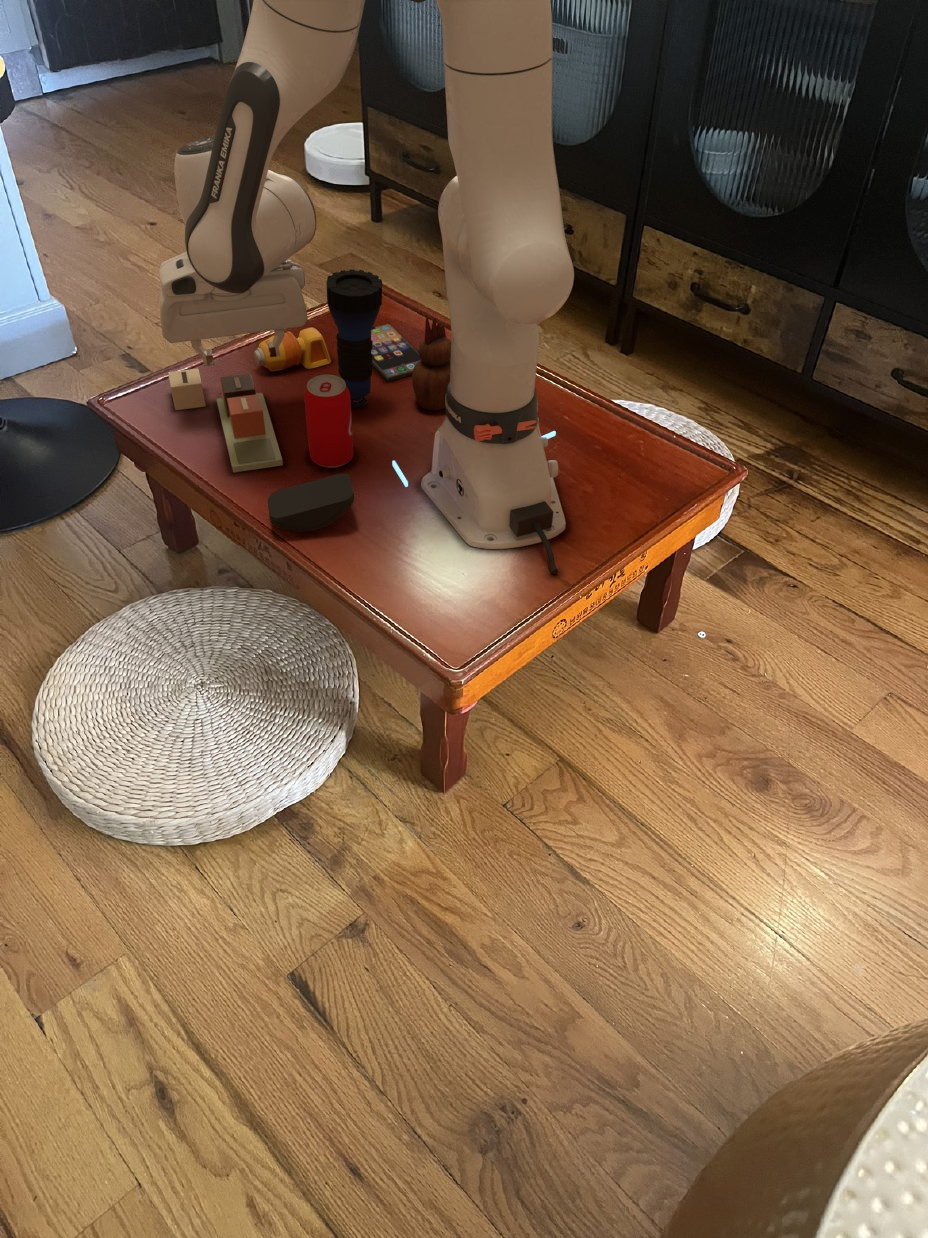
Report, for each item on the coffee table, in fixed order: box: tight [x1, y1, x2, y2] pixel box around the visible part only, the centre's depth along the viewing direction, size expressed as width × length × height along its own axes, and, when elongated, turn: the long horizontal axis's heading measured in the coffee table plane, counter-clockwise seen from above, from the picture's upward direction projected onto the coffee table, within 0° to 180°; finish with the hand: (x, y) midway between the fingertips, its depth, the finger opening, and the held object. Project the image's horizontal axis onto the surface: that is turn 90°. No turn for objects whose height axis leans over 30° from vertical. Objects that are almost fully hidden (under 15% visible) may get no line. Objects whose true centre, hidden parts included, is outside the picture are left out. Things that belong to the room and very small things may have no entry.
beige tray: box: [216, 392, 284, 473], centre depth 135 cm, size 18×7×5 cm, turn 17°
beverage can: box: [303, 374, 355, 469], centre depth 130 cm, size 6×6×12 cm
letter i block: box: [167, 368, 206, 411], centre depth 141 cm, size 4×4×4 cm
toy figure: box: [253, 327, 332, 372], centre depth 149 cm, size 5×6×12 cm
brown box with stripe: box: [220, 373, 257, 416], centre depth 139 cm, size 4×4×4 cm
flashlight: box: [325, 269, 383, 408], centre depth 136 cm, size 8×8×20 cm
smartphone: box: [371, 323, 421, 382], centre depth 154 cm, size 8×15×1 cm, turn 31°
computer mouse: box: [267, 473, 355, 533], centre depth 122 cm, size 6×11×4 cm, turn 102°
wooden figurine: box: [411, 317, 451, 411], centre depth 139 cm, size 7×6×15 cm
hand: (242, 359), depth 136 cm, fingers open, 8 cm apart
